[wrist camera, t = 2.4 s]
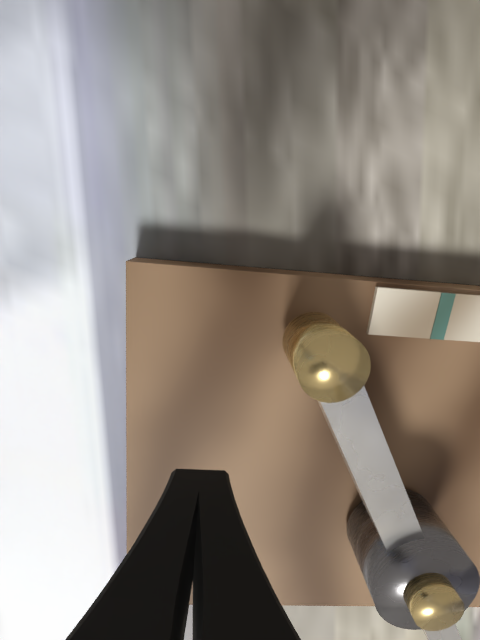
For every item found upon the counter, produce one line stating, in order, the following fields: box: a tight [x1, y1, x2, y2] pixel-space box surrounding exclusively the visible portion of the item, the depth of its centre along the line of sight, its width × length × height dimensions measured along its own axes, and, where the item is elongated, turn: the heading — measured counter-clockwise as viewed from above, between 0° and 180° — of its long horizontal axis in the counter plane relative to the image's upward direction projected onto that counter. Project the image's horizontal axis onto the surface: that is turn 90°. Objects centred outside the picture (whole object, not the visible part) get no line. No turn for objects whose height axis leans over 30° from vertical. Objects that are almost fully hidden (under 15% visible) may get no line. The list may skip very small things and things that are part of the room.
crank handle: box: [282, 312, 480, 640], centre depth 14 cm, size 18×4×4 cm, turn 25°
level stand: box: [126, 257, 480, 607], centre depth 17 cm, size 20×18×2 cm
